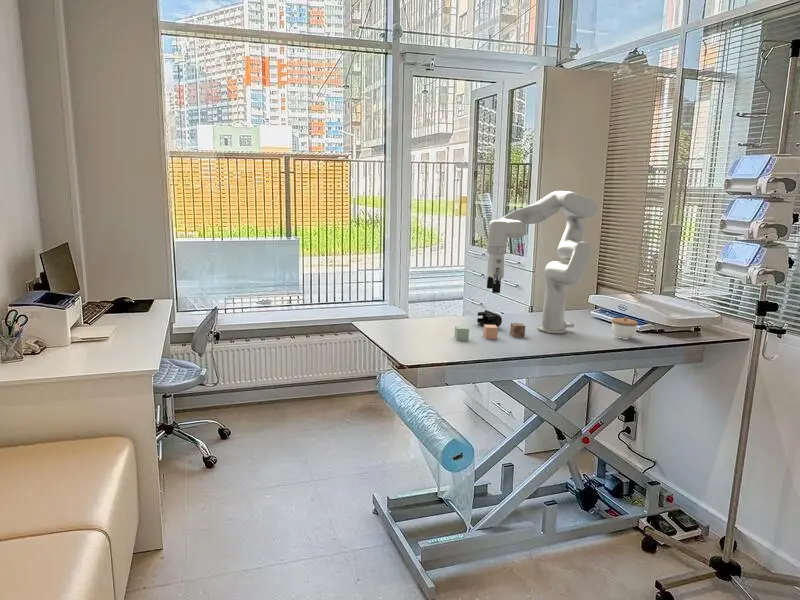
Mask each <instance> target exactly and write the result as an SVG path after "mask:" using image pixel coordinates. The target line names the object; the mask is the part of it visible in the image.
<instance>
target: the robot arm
mask: <svg viewBox="0 0 800 600" xmlns="http://www.w3.org/2000/svg"><path fill="white" fill-rule="evenodd" d="M598 211H599V210H598V205H597V202H595V201H594V199H591V198H589V197H587V196H584V195H582V194H579V193H577V192H573V191H569V190H568V191H567V190H555V191H552V192H550V193H549V194H547V195H546V196H544V197H543V198H541V199H539V200H537V201H536V202H534V203H532V204H531V205H530V204H529V205H528V206H525V207H522V208H519V209H515V210H514V211H511V212H509V213H508V214H506V215H504V216H502V217H501V218H500V219H492V220H490V221H489V223H488V235H487V236H488V237H487V250H486V254H488V258H487V259H488V260H487V269H486V270H487V271H486V273H487V281H486V288H487V289H491V293H493V294H500V293H501V287H502V286H501V285H502V279H503V278H504V274H505V273H504V272H505V255H506V251H507V241H508V238H510V239H521V238H523V237H524V236H526V233H527V230H528V228H527V225H533V224H539V223H543V222H545V221H546V220H548V219H549V218H551V217H553V216H554V215H556V214H558V213H559V212H562V214H563V217H564V219H565V227H564V232H563V234H562V237H561V239H560V241H559V243H558V246H557V249H556V256H557V257H558V258H559V259H561V260H563V261H560V260H553V261H549V262H548V263H547V264H546V265H545V267H544V273H543V274H544V295H543V307H542V318H541V324H540V325H538V326H537V330H539V331H540V332H543V333H547V334H555V333H556V334H565V333H566V332H567V328H574V327H575V324H574V322H573V323H572V322H571V323H570V322H566V321H565V310H566V303H567V302H566V301H567V287H566V286H568V287H574V286H576V285H578V284H579V283H580V282H581V280H582V279H583V276H584V274H585V272H586V269H587V267H588V264H589V263H590V260H591V258H592V257H591V256H592V247H591V245H590V244H589V243H588V242H587V241H585V240H583V238H584V237H585V233H586V232H585V231H586V226H585V221H584V220H591V219H593V218H594V217H595V216H596V215H597V214H598ZM564 260H565V261H568V262H565V261H564Z"/></svg>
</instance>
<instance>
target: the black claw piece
mask: <svg viewBox="0 0 800 600" xmlns="http://www.w3.org/2000/svg"><path fill="white" fill-rule="evenodd" d="M477 316H478V318H477V319H476V322H477V324H478V325H477V326H479V325H480V326H479V327H481V326H483V327H484V325H496V326H497V327H498V328H499V327H500V326H501V324H502V323H503V322H502V321H503V318H502V316H501V314H498V313H495V312H493V311H490V310H487V309H484V311H478V312H477ZM480 316H481V317H480ZM479 317H480V318H479ZM483 327H482V328H483Z"/></svg>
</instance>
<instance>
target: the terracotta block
mask: <svg viewBox="0 0 800 600" xmlns="http://www.w3.org/2000/svg"><path fill="white" fill-rule="evenodd" d="M498 335H499V327H497V326H496V325H484V328H483V332H482V337H484V339H485V338H486V339H485V340H487V339H488V340H498Z"/></svg>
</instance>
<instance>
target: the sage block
mask: <svg viewBox="0 0 800 600" xmlns="http://www.w3.org/2000/svg"><path fill="white" fill-rule="evenodd" d="M469 337H470V328H469V326H467V325H455V326H454V338H456V339H455V340H456V341H469V339H470V338H469Z"/></svg>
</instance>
